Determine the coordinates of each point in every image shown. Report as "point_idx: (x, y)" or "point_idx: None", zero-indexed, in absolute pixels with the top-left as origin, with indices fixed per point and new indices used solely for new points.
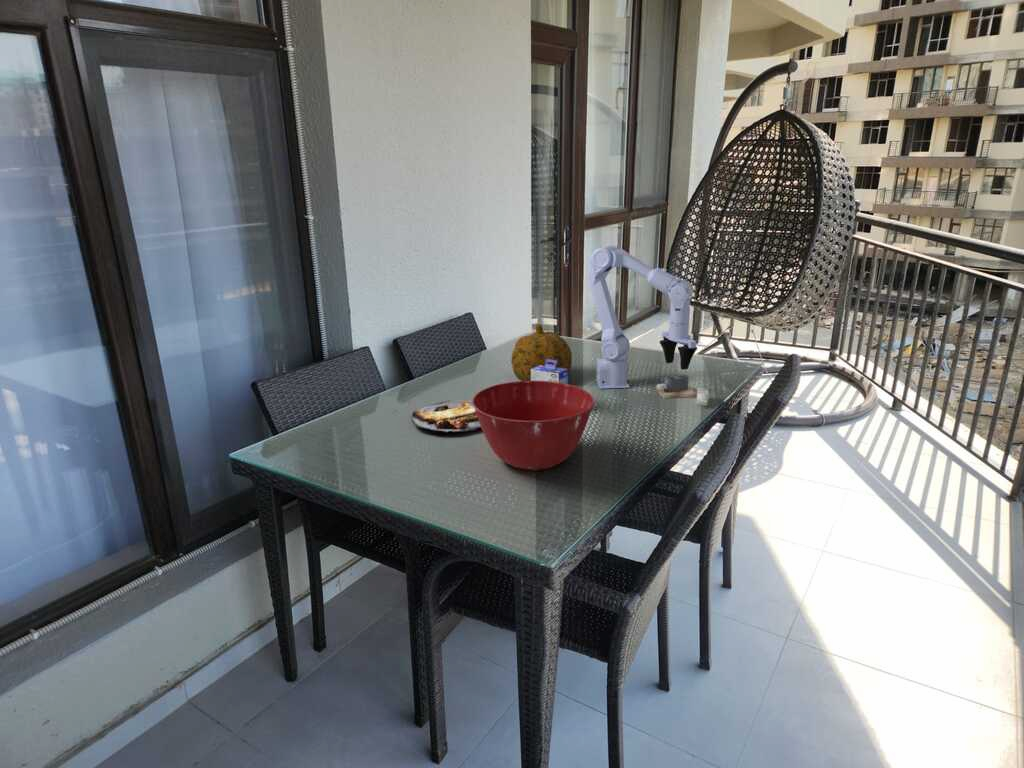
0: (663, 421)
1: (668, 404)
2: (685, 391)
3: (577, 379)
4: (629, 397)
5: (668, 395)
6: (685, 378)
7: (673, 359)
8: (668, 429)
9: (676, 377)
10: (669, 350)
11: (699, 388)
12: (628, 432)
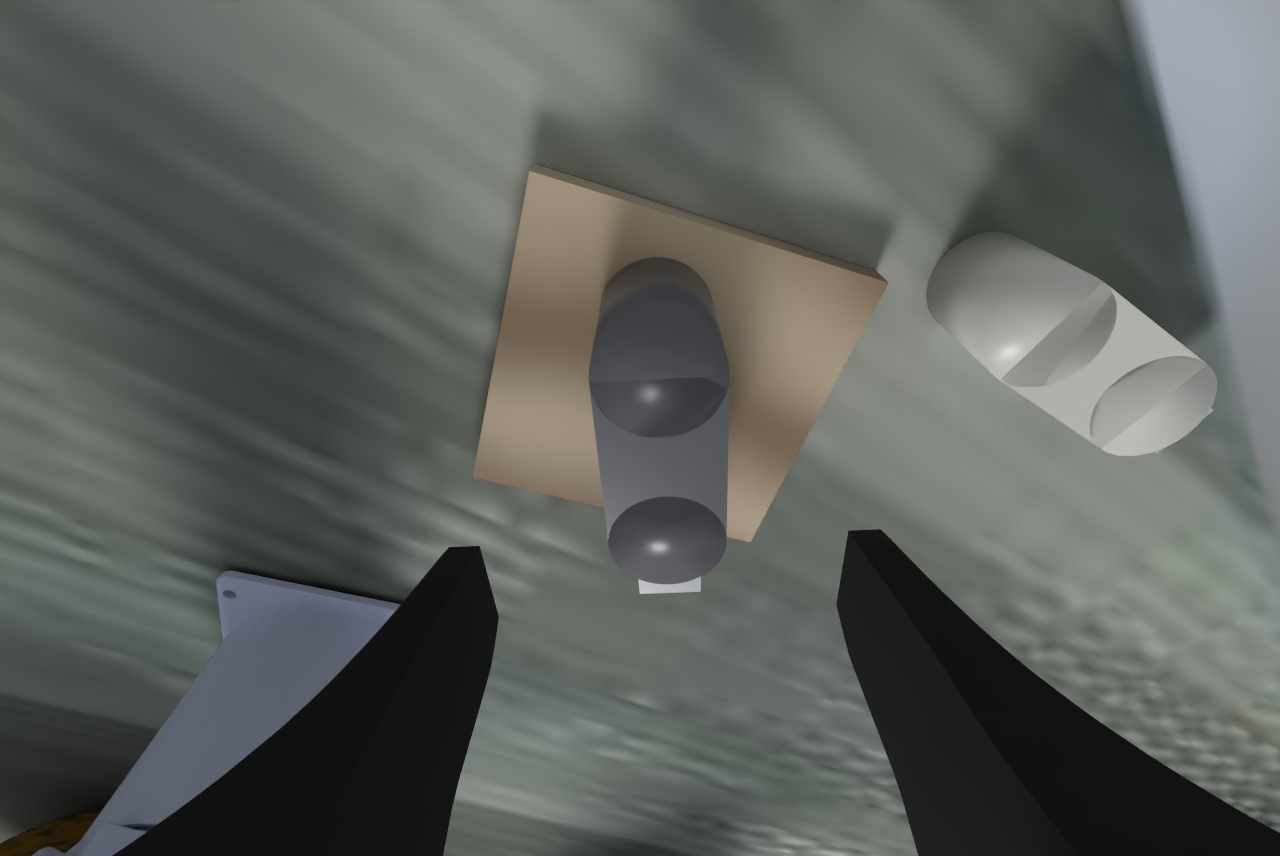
0: (1085, 693)
1: None
2: (755, 339)
3: None
4: (617, 671)
5: (763, 511)
6: (727, 381)
7: (461, 574)
8: (1187, 718)
9: (672, 472)
10: (419, 801)
11: (1008, 349)
12: None
